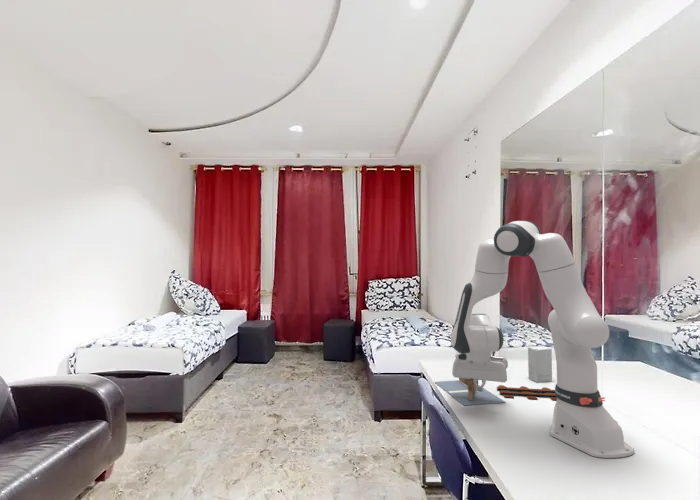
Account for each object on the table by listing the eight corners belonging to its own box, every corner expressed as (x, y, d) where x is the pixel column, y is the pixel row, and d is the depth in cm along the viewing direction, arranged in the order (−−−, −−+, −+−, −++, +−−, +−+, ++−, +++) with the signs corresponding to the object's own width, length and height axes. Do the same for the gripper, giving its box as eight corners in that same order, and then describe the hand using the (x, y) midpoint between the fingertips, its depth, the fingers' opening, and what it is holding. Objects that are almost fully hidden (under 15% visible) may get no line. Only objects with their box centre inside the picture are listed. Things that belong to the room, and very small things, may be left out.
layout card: (505, 402, 148) (505, 401, 148) (464, 405, 145) (464, 404, 145) (470, 380, 175) (470, 379, 175) (434, 382, 172) (434, 381, 172)
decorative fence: (565, 403, 149) (551, 390, 164) (565, 398, 149) (551, 386, 164) (502, 399, 153) (494, 387, 168) (502, 395, 153) (494, 383, 168)
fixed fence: (479, 391, 160) (479, 371, 160) (473, 391, 159) (473, 372, 160) (462, 380, 174) (462, 362, 174) (457, 380, 174) (457, 362, 174)
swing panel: (471, 400, 148) (471, 381, 149) (468, 399, 149) (468, 381, 149) (476, 390, 159) (476, 373, 159) (473, 390, 160) (472, 373, 160)
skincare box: (543, 377, 179) (543, 345, 179) (553, 381, 173) (552, 348, 174) (527, 379, 177) (527, 346, 178) (536, 383, 171) (536, 349, 172)
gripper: (507, 355, 150) (508, 391, 150) (453, 351, 158) (453, 385, 158) (507, 359, 145) (508, 396, 144) (451, 354, 152) (451, 390, 152)
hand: (479, 390), depth 151 cm, fingers closed
